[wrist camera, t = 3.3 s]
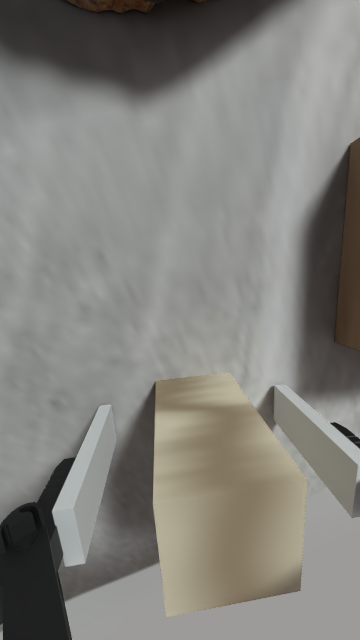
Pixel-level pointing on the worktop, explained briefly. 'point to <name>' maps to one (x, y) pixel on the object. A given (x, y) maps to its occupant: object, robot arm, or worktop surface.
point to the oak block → (222, 498)
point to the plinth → (350, 259)
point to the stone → (119, 4)
